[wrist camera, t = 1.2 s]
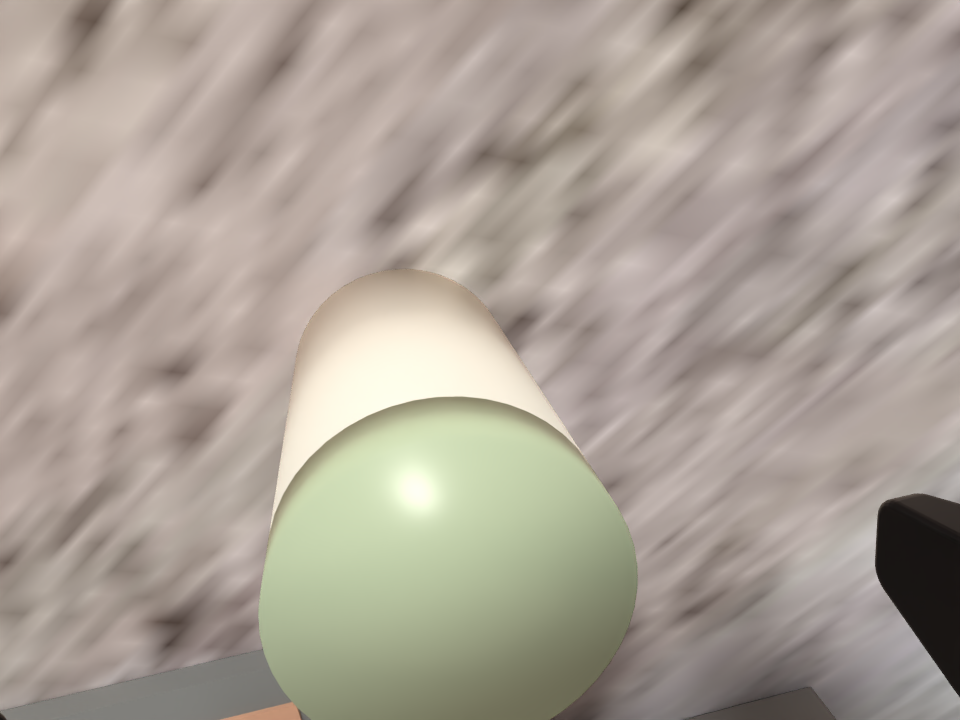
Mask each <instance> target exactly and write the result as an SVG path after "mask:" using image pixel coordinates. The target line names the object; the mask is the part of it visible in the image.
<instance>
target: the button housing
mask: <svg viewBox="0 0 960 720" xmlns="http://www.w3.org/2000/svg"><path fill="white" fill-rule="evenodd" d="M685 720H836V719H835V717H834V716H833V715H832V714H831V712H830V711H829V710H828V709H827V707H826V706H825V705H824V703H823V702H822V701H821V700H820V698H819V697H818V696H817V694H816V693H815V692H814V691H813V689H812V688H811V687H807V688H803V689H800V690H796V691H792V692H788V693H784V694H780V695H777V696H773V697H769V698H765V699H761V700H758V701H754V702H750V703H746V704H742V705H738V706H735V707H731V708H727V709H723V710H719V711H715V712H712V713H708V714H704V715H700V716H696V717H693V718H689V719H685Z"/></svg>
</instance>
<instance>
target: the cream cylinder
mask: <svg viewBox="0 0 960 720" xmlns="http://www.w3.org/2000/svg"><path fill="white" fill-rule="evenodd" d="M636 593H637V561H636V555H635V549H634V544H633V541H632V538H631V535H630V532H629V529H628V527H627V525H626V523H625V521H624V519H623V517H622V515H621V513H620V511H619V509H618V508H617V506H616V505H615V503H614V501H613V500H612V498H611V497H610V495H609V494H608V492H607V491H606V489H605V488H604V486H603V485H602V483H601V482H600V480H599V478H598V477H597V475H596V474H595V472H594V471H593V469H592V468H591V466H590V465H589V463H588V462H587V460H586V459H585V457H584V455H583V454H582V452H581V451H580V449H579V448H578V446H577V445H576V443H575V442H574V440H573V439H572V437H571V436H570V434H569V432H568V431H567V429H566V428H565V426H564V425H563V423H562V422H561V420H560V419H559V417H558V416H557V414H556V413H555V411H554V409H553V408H552V406H551V405H550V403H549V402H548V400H547V399H546V397H545V396H544V394H543V393H542V391H541V390H540V388H539V386H538V385H537V383H536V382H535V380H534V379H533V377H532V376H531V374H530V373H529V371H528V370H527V368H526V366H525V365H524V363H523V362H522V360H521V359H520V357H519V356H518V354H517V353H516V351H515V350H514V348H513V347H512V345H511V343H510V342H509V340H508V339H507V337H506V336H505V334H504V333H503V331H502V330H501V328H500V327H499V325H498V324H497V322H496V320H495V319H494V317H493V316H492V315H491V313H490V312H489V310H488V309H487V308H486V306H485V305H484V304H483V303H482V302H481V301H480V300H479V299H478V298H477V297H476V296H475V295H474V294H473V293H471V292H470V291H469V290H468V289H466V288H465V287H463V286H462V285H460V284H458V283H457V282H455V281H453V280H451V279H449V278H446V277H444V276H442V275H439V274H435V273H431V272H428V271H421V270H414V269H395V270H386V271H381V272H377V273H373V274H369V275H366V276H364V277H361V278H359V279H356V280H354V281H352V282H351V283H349V284H347V285H345V286H343V287H342V288H341V289H339V290H338V291H337V292H335V293H334V294H332V295H331V296H330V297H329V298H328V299H327V300H326V301H325V302H324V303H323V304H322V305H321V306H320V307H319V309H318V310H317V311H316V312H315V314H314V315H313V316H312V318H311V319H310V321H309V323H308V325H307V326H306V328H305V330H304V333H303V335H302V337H301V340H300V343H299V347H298V351H297V356H296V362H295V369H294V375H293V382H292V388H291V395H290V401H289V408H288V415H287V421H286V428H285V434H284V441H283V447H282V454H281V460H280V467H279V473H278V480H277V487H276V493H275V500H274V506H273V513H272V519H271V526H270V532H269V539H268V545H267V552H266V559H265V565H264V572H263V578H262V585H261V592H260V601H259V611H258V614H259V632H260V637H261V642H262V646H263V651H264V655H265V657H266V660H267V662H268V664H269V667H270V669H271V672H272V674H273V676H274V677H275V679H276V680H277V682H278V684H279V685H280V687H281V689H282V690H283V692H284V693H285V694H286V695H287V696H288V698H289V699H290V700H291V701H292V702H293V703H294V705H295V706H296V707H297V708H298V709H299V710H301V711H302V712H303V713H304V714H305V715H306V716H307V717H309V718H310V719H311V720H550V719H551V718H553V717H554V716H556V715H557V714H559V713H560V712H562V711H563V710H565V709H566V708H567V707H568V706H570V705H571V704H572V703H573V702H574V701H576V700H577V699H578V698H579V697H580V696H581V695H582V694H583V693H584V692H585V691H586V690H587V689H588V688H589V687H590V686H591V685H592V684H593V683H594V682H595V681H596V680H597V679H598V677H599V676H600V675H601V674H602V672H603V671H604V670H605V668H606V667H607V666H608V664H609V663H610V662H611V660H612V658H613V657H614V655H615V653H616V652H617V650H618V648H619V647H620V645H621V643H622V640H623V638H624V636H625V634H626V631H627V629H628V627H629V624H630V620H631V617H632V613H633V610H634V607H635V600H636Z"/></svg>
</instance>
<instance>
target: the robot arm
mask: <svg viewBox="0 0 960 720" xmlns="http://www.w3.org/2000/svg"><path fill="white" fill-rule="evenodd" d="M875 567H876V573H877V576H878V579H879V581H880V583H881V585H882V587H883V589H884V590H885V592H886V593H887V595H888V596H889V598H890V599H891V600H892V602H893V603H894V605H895V606H896V608H897V609H898V610H899V612H900V613H901V615H902V616H903V618H904V619H905V620H906V622H907V623H908V625H909V626H910V627H911V629H912V630H913V632H914V633H915V635H916V636H917V637H918V639H919V640H920V642H921V643H922V645H923V646H924V647H925V649H926V650H927V652H928V653H929V654H930V656H931V657H932V659H933V660H934V662H935V663H936V664H937V666H938V667H939V669H940V670H941V672H942V673H943V674H944V676H945V677H946V679H947V680H948V681H949V683H950V684H951V686H952V687H953V689H954V690H955V691H956V693H957V694H958V695H959V697H960V504H958V503H955V502H951V501H948V500H944V499H941V498H937V497H934V496H930V495H926V494H911V495H907V496H902V497H898V498H894V499H890V500H887V501H885V502H884V503H882V505H881V506H880V508H879V510H878V518H877V536H876V555H875ZM0 720H7V719H6V718H5V716H4V715H3V714H1V713H0Z"/></svg>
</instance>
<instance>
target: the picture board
mask: <svg viewBox="0 0 960 720" xmlns="http://www.w3.org/2000/svg"><path fill="white" fill-rule="evenodd" d="M0 713H1V714H3V715H4V716H5V718H6V719H7V720H311V719H310V718H309V717H307V716H306V715H305V714H304V713H303V712H302V711H301V710H299V709H298V708H297V707H296V706H295V705H294V703H293V702H292V701H291V700H290V699H289V698H288V696H287V695H286V694H285V693H284V692H283V690H282V689H281V687H280V685H279V684H278V682H277V680H276V679H275V677H274V676H273V674H272V672H271V669H270V667H269V664H268V662H267V660H266V657H265V655H264V651H263V649H262V650H258V651H254V652H250V653H245V654H241V655H237V656H233V657H228V658H224V659H220V660H216V661H211V662H207V663H203V664H199V665H194V666H190V667H186V668H182V669H177V670H173V671H169V672H165V673H160V674H156V675H152V676H148V677H143V678H139V679H135V680H131V681H126V682H122V683H118V684H114V685H110V686H105V687H101V688H97V689H93V690H88V691H84V692H80V693H76V694H71V695H67V696H63V697H59V698H54V699H50V700H46V701H42V702H37V703H33V704H29V705H25V706H20V707H16V708H12V709H8V710H3V711H0Z"/></svg>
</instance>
